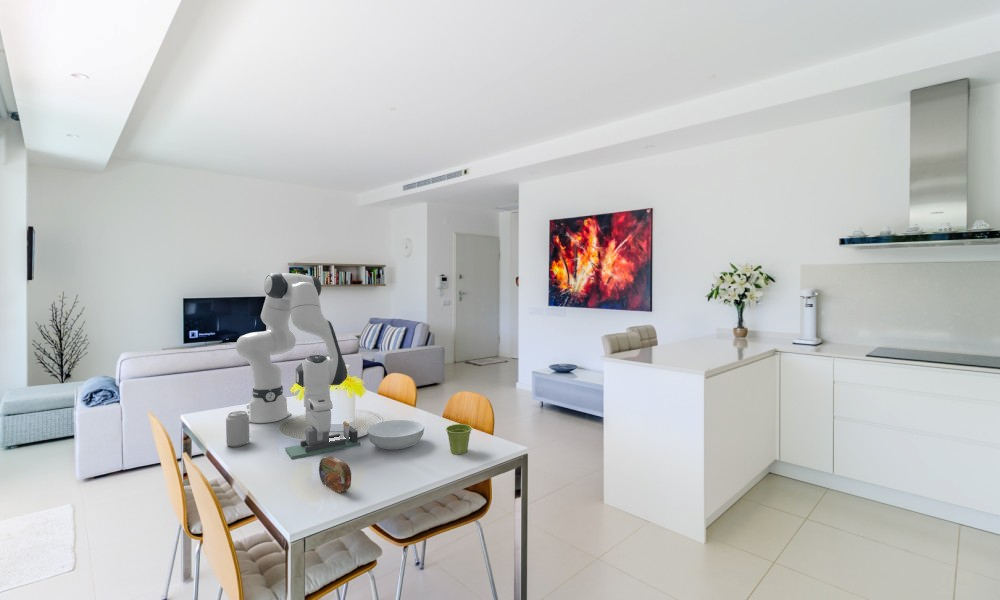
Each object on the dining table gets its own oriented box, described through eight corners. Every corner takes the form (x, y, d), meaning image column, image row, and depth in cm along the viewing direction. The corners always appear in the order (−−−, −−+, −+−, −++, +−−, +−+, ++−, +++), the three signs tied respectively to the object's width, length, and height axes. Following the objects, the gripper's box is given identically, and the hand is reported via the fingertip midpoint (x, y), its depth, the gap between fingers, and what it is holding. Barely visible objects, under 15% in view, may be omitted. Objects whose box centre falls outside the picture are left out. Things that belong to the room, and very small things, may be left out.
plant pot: (464, 458, 161) (464, 433, 161) (440, 453, 165) (440, 430, 165) (476, 449, 170) (476, 426, 169) (454, 445, 174) (454, 422, 173)
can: (239, 448, 169) (238, 416, 168) (221, 446, 170) (220, 414, 170) (254, 441, 176) (253, 410, 176) (237, 440, 178) (236, 409, 177)
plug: (306, 442, 169) (305, 428, 168) (326, 438, 173) (326, 425, 173) (308, 445, 166) (308, 431, 165) (329, 441, 170) (329, 428, 170)
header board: (285, 450, 167) (284, 429, 167) (351, 437, 181) (351, 417, 181) (291, 459, 159) (291, 436, 159) (359, 444, 173) (359, 424, 173)
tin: (318, 481, 142) (317, 454, 142) (327, 478, 145) (327, 451, 144) (343, 497, 132) (343, 468, 132) (353, 493, 135) (353, 465, 134)
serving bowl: (435, 443, 176) (435, 425, 176) (394, 460, 159) (394, 441, 159) (397, 432, 188) (397, 415, 188) (355, 447, 171) (355, 429, 170)
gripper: (301, 395, 175) (301, 431, 176) (315, 408, 158) (315, 447, 159) (318, 393, 179) (318, 428, 179) (334, 405, 162) (334, 444, 163)
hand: (317, 437), depth 169 cm, fingers closed on plug, 4 cm apart
